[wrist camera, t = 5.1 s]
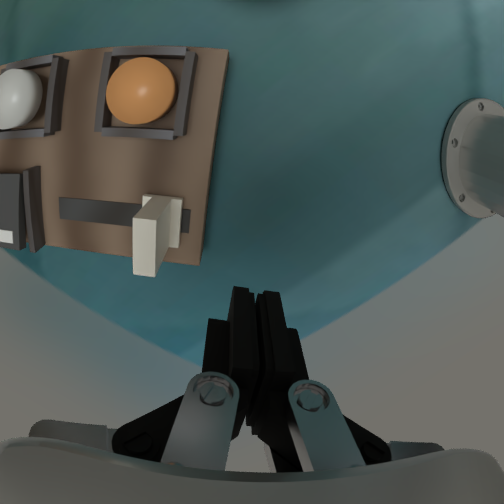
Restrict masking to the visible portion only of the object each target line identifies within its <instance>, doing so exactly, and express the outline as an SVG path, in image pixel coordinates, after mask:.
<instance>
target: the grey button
mask: <svg viewBox="0 0 504 504" xmlns="http://www.w3.org/2000/svg"><path fill="white" fill-rule="evenodd" d="M42 93H43V88H42V83H41V80H40V77H39V76H38V75H37V74H36V73H35V72H34V71H31V70H23V69H10V70H7V71H5V72H4V73H3V74H1V75H0V129H9V128H15V127H20V126H24V125H26V124H27V123H29V122H30V121H31V120H32V119H33V118H34V116H35V115H36V113H37V111H38V109H39V107H40V104H41V100H42Z"/></svg>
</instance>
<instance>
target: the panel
mask: <svg viewBox="0 0 504 504" xmlns="http://www.w3.org/2000/svg"><path fill="white" fill-rule="evenodd" d="M139 57H148V58H152V59H155V60H157V61H159V62H161V63H162V64H164V65H165V66H167V67H168V68H169V69H170V70H171V71H172V72H173V74H174V75H175V77H176V80H177V84H178V94H177V98H176V101H175V103H174V105H173V107H172V108H171V110H170V111H169V112H168V113H167V114H166V115H165V116H163V117H162V118H160V119H159V120H157V121H154V122H151V123H144V124H128V123H125V122H122V121H120V120H119V119H117V118H116V117H115V116H114V115H113V114H112V113H111V111H110V109H109V107H108V105H107V101H106V89H107V85H108V82H109V80H110V78H111V76H112V74H113V73H114V72H115V70H116V69H117V68H118V67H120V66H121V65H122V64H123V63H125V62H127V61H129V60H131V59H134V58H139ZM228 62H229V51H228V50H225V49H215V48H203V47H187V46H122V47H106V48H95V49H85V50H77V51H70V52H63V53H57V54H51V55H45V56H40V57H35V58H30V59H26V60H21V61H17V62H13V63H9V64H5V65H2V66H0V75H1V74H3V73H4V72H5V71H7V70H10V69H23V70H31V71H34V72H35V73H36V74H37V75H38V76H39V77H40V80H41V83H42V88H43V93H42V100H41V104H40V107H39V109H38V111H37V113H36V115H35V116H34V118H33V119H32V120H31V121H30V122H29V123H27V124H26V125H24V126H20V127H15V128H9V129H0V173H23V188H24V204H25V229H26V242H29V247H30V252H33V253H36V252H37V251H38V250H39V249H40V248H42V247H43V246H44V245H50V246H56V247H63V248H70V249H77V250H84V251H91V252H98V253H105V254H112V255H120V256H127V257H133V217H134V216H135V215H136V214H137V213H138V212H139V211H140V209H141V208H142V201H143V195H144V194H151V195H161V196H171V197H180V198H183V205H182V218H181V231H180V245H179V247H178V248H173V247H169V248H168V250H167V252H166V254H165V256H164V259H163V261H165V262H173V263H181V264H189V265H197V266H199V265H200V261H201V256H202V251H203V244H204V234H205V225H206V216H207V207H208V198H209V190H210V182H211V174H212V166H213V159H214V151H215V144H216V137H217V130H218V123H219V117H220V110H221V104H222V98H223V92H224V86H225V80H226V74H227V68H228Z"/></svg>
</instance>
